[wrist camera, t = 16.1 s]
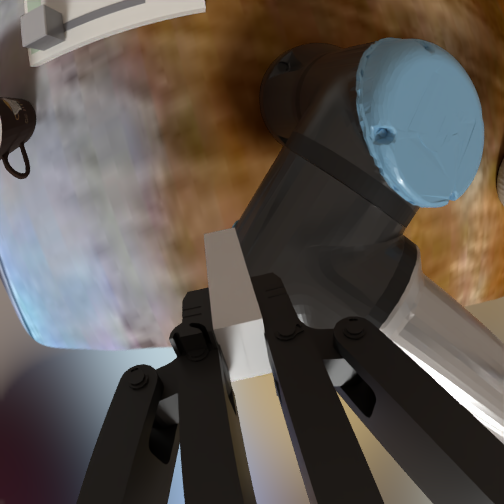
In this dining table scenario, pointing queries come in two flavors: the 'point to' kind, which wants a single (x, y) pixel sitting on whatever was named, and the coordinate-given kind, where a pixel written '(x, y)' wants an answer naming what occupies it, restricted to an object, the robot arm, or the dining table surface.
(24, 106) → the coffee mug
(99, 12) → the panel
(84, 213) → the dining table surface
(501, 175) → the canister
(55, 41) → the block
